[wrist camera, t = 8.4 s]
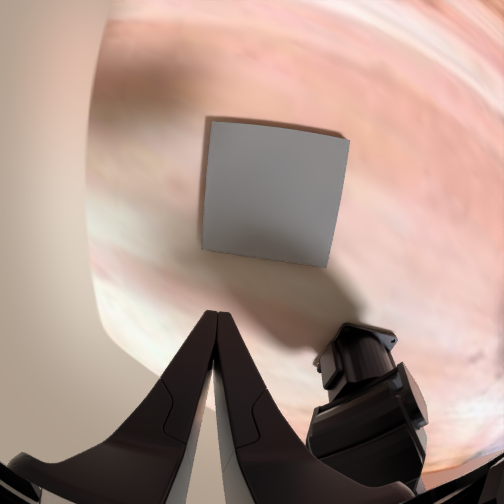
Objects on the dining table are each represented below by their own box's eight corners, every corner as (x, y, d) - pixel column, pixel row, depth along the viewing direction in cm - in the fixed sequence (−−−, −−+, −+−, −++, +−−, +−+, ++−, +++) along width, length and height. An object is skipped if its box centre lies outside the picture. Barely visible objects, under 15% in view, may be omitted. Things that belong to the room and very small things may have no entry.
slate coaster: (347, 140, 18) (350, 140, 18) (324, 263, 22) (326, 267, 21) (214, 122, 19) (211, 121, 18) (204, 245, 23) (201, 249, 22)
